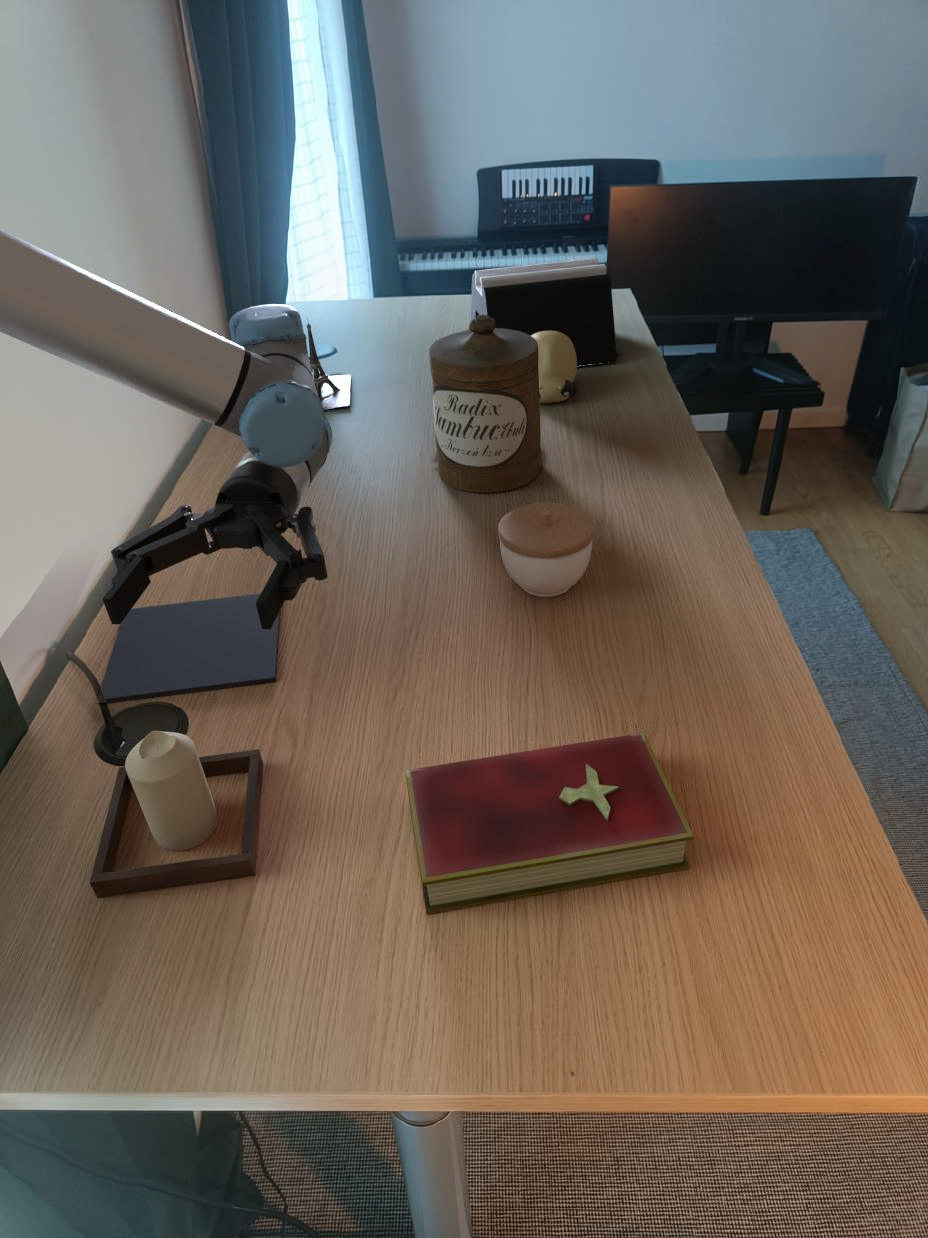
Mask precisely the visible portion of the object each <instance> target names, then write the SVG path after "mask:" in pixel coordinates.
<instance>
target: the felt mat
mask: <svg viewBox="0 0 928 1238" xmlns="http://www.w3.org/2000/svg"><path fill="white" fill-rule="evenodd" d="M260 594H261V593H252V594H245V595H244V594H243V595H235V596H227V597H219V598H209V599H203V600H194V601H185V602H177V603H169V604H159V605H151V606H142V607H135V608H134V607H133V608H132V609H131V610H130V612H129V613H128V614H127V616H126V617H125V618H124V620H123V621H122V622H121V624H120V625H119V628H118V631H117V635H116V638H115V641H114V645H113V647H112V651H111V654H110V657H109V661H108V664H107V666H106V670H105V674H104V677H103V679H102V683H101V686H100V689H102V692H103V695H104V698H105V700H106V702H107V703H106V704H112V703H118V702H126V701H134V700H142V699H150V698H158V697H166V696H173V695H174V696H175V695H181V694H182V695H183V694H189V693H196V692H197V693H199V692H206V691H213V690H222V689H229V688H238V687H243V686H244V687H245V686H251V685H261V684H267V683H268V684H269V683H275V682H277V671H278V657H279V656H278V655H279V638H280V636H279V635H280V625H281V624H280V623H281V622H280V621H281V611H280V612H279V614H278V616H277V618H276V620H275V622H274V624H273V626H272V628H271V629H262V627H261V623H260V619H259V615H258V611H257V607H256V602H257V600H258V598H259V596H260Z"/></svg>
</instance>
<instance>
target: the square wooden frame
mask: <svg viewBox="0 0 928 1238" xmlns="http://www.w3.org/2000/svg"><path fill="white" fill-rule="evenodd" d="M198 757H199V760H200V763H201V766H202V769H203V772H204V775H205V778H206V779H207V778H213V777H219V776H220V777H221V776H228V775H233V774H234V775H236V774H242V773H243V774H244V773H248V774H247V785H246V796H245V806H244V807H245V809H244V819H243V830H242V840H241V852H240V853H235V854H229V855H221V856H215V857H206V858H200V859H193V860H187V861H185V860H184V861H180V862H179V861H178V862H171V863H165V864H157V865H151V866H150V865H149V866H144V867H137V868H136V867H135V868H129V869H123V870H122V869H121V870H116V871H114V868H115V862H116V859H117V854H118V850H119V847H120V846H119V845H120V841H121V836H122V833H123V828H124V824H125V820H126V815H127V811H128V807H129V802H130V798H131V795H132V789H133V786H132V784H131V781H130V779H129V776H128V774H127V772H126V769H125V766H119V767H118V770H117V774H116V777H115V781H114V786H113V790H112V793H111V798H110V801H109V805H108V808H107V813H106V816H105V820H104V825H103V828H102V833H101V837H100V840H99V844H98V847H97V852H96V856H95V859H94V863H93V867H92V872H91V876H90V879H89V885H90V887H91V889H92V892H93V893H94V895H95V897H96V899H97V898H98V899H100V898H106V897H113V896H120V895H127V894H134V893H135V894H136V893H141V892H149V891H154V890H155V891H156V890H161V889H168V888H170V889H171V888H175V887H182V886H189V885H197V884H204V883H205V884H206V883H211V882H217V881H218V882H219V881H225V880H232V879H239V878H246V877H254V876H256V872H257V871H256V870H257V858H258V857H257V855H258V843H259V828H260V814H261V801H262V800H261V799H262V787H263V773H264V761H263V758H262V755H261V750H260V748H256V749H249V750H248V749H247V750H241V751H234V752H233V751H232V752H226V753H225V752H224V753H217V754H211V755H203V756H198Z"/></svg>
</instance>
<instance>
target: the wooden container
mask: <svg viewBox="0 0 928 1238" xmlns="http://www.w3.org/2000/svg"><path fill="white" fill-rule="evenodd" d="M428 359H429V361H428V363H429V370H430V374H431V384H432V387H431V389H432V404H433V405H432V406H433V422H434V423H433V425H434V439H435V441H434V442H435V449H436V461H437V463H436V464H437V472H438V476H439V478H440V479H441V480H442V481H443V482H444V483H445V484H446V485H448V486H450V487H452V488H455V489H457V490H460V491H465V492H469V493H480V494H490V493H491V494H492V493H502V492H507V491H511V490H514V489H518V488H520V487H523V486H525V485H527V484H529V483H530V482H532V481H533V480H534V479H536V477H537V476H538V475H539V474H540V472H541V443H542V441H541V438H542V437H541V436H542V435H541V403H540V398H539V371H538V344H537V341H536V340H535V339H534V338H533V337H532V336H530V335H528V334H525V333H523V332H519V331H515V330H510V329H499V328H495V321H494V319H492V318H490V317H489V316H487V315H478V316H476V317H475V318H474V319H472V320H471V319H470V320H469V323H468V329H467V330H462V331H458V332H455V333H451V334H448V335H445V336H443V337H441V338H438V339H437V340H435V341H434V342H433V343H432V344H431V345H430V346H429V348H428Z"/></svg>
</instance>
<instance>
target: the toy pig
mask: <svg viewBox="0 0 928 1238" xmlns="http://www.w3.org/2000/svg"><path fill="white" fill-rule="evenodd" d="M531 336H532V337H533V338H534V339H535V340H536V341H537V344H538V371H539V398H540V404H553V403H552V402H556V403H561V402H564V401H566V400H567V399H569V398H570V397H571V396H572V394H573V392H574V384H573V383H574V381H575V378H576V377H577V376H576V375H577V370H578V367H577V357H576V352H575V348H574V346H573V343H572V341H571V340H570V339H569V338H568V337H567V336H566V335H565V334H563V333H560V332H557V331H541V332H537V333H535V334H533V335H531ZM560 401H561V402H560Z"/></svg>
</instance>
